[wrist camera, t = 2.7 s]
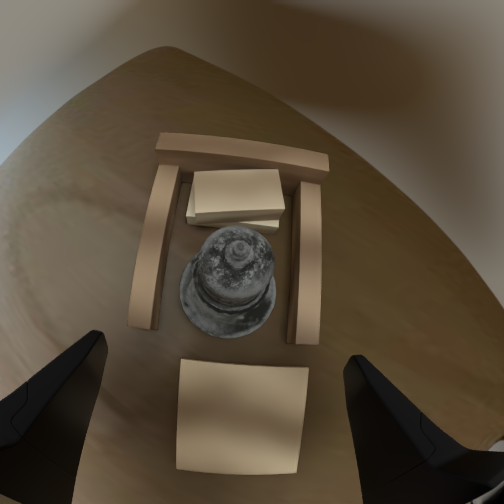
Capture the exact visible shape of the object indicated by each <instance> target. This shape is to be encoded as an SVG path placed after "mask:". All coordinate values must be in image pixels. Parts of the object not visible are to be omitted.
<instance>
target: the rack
mask: <svg viewBox="0 0 504 504" xmlns="http://www.w3.org/2000/svg"><path fill="white" fill-rule="evenodd" d="M155 150H156V154H157V158H158V162H159V167H158V171H157V174H156V178H155V181H154V185H153V189H152V193H151V196H150V200H149V204H148V208H147V213H146V217H145V221H144V226H143V230H142V235H141V240H140V245H139V250H138V255H137V260H136V266H135V271H134V277H133V284H132V290H131V297H130V304H129V312H128V320H127V326H133V327H138V328H144V329H150V330H158V320H159V312H160V303H161V296H162V288H163V281H164V274H165V268H166V261H167V255H168V249H169V244H170V238H171V232H172V227H173V222H174V217H175V212H176V207H177V202H178V197H179V193H180V188H181V184H182V182H188V183H193V179H194V172H199V171H218V170H250V169H278V171H279V177H280V182H281V188H282V194H285V195H291V196H293V214H292V249H291V274H290V294H289V312H288V328H287V343H292V344H317V345H319V328H320V306H321V263H322V237H321V194H320V184H321V183H322V181H323V180H324V178H325V177H326V176H327V174H328V173H329V162H328V154H323V153H318V152H314V151H309V150H304V149H298V148H293V147H288V146H282V145H276V144H270V143H263V142H257V141H250V140H242V139H234V138H226V137H216V136H206V135H194V134H179V133H160V136H159V139H158V142H157V145H156V148H155Z"/></svg>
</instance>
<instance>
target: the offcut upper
mask: <svg viewBox="0 0 504 504" xmlns="http://www.w3.org/2000/svg"><path fill="white" fill-rule="evenodd" d="M194 192H195V216H196V223H197V225H198V224H214V223H231V222H249V221H271V220H279V219H280V217H281V215H282V213H283V212H284V210H285V205H284V200H283V194H282V188H281V182H280V177H279V171H278V169H250V170H218V171H199V172H194Z"/></svg>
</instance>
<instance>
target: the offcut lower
mask: <svg viewBox="0 0 504 504" xmlns="http://www.w3.org/2000/svg"><path fill="white" fill-rule="evenodd" d="M186 218H187V223H188V224H190V225H197V223H196V216H195V192H194V179H193V184H192V188H191V193H190V198H189V203H188V208H187V213H186ZM198 226H207V227H216V228H224V227H228V226H244V227H248V228H251V229H253V230H255V231H257V232H259V233H264V234H272V235H274V234H275V232H276V231H277V229H278V227H279V220H271V221H249V222H231V223H214V224H198Z"/></svg>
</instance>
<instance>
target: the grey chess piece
mask: <svg viewBox="0 0 504 504" xmlns="http://www.w3.org/2000/svg"><path fill="white" fill-rule="evenodd" d="M274 267H275V261H274V253H273V251H272V248H271V246H270V244H269V243H268V241H267V240H266V239H265V238H264V237H263V236H262V235H261V234H260V233H259V232H257V231H255V230H253V229H251V228H248V227H244V226H228V227H224V228H221V229H219V230H217V231H215V232H213V233H212V234H211V235H210V236H209V237H208V238H207V239H206V240H205V242H204V244H203V245H202V247H201V249H200V252H199V253H197V254H196V255H195V256H194V257H193V258H192V259H191V260H190V261H189V262H188V264H187V266H186V268H185V269H184V271H183V274H182V277H181V281H180V300H181V303H182V307H183V310H184V311H185V313H186V315H187V316H188V318H189V320H190V321H191V322H192V323H193V324H194V325H195V326H196V327H197V328H199V329H200V330H201V331H203V332H205V333H207V334H209V335H211V336H215V337H219V338H224V339H225V338H239V337H242V336H245V335H248V334H250V333H252V332H253V331H255V330H256V329H258V328H259V327H261V325H262V324H263V323H264V322H265V321H266V320H267V319H268V317H269V315H270V313H271V311H272V309H273V307H274V303H275V298H276V285H275V280H274V277H273V273H274Z"/></svg>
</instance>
